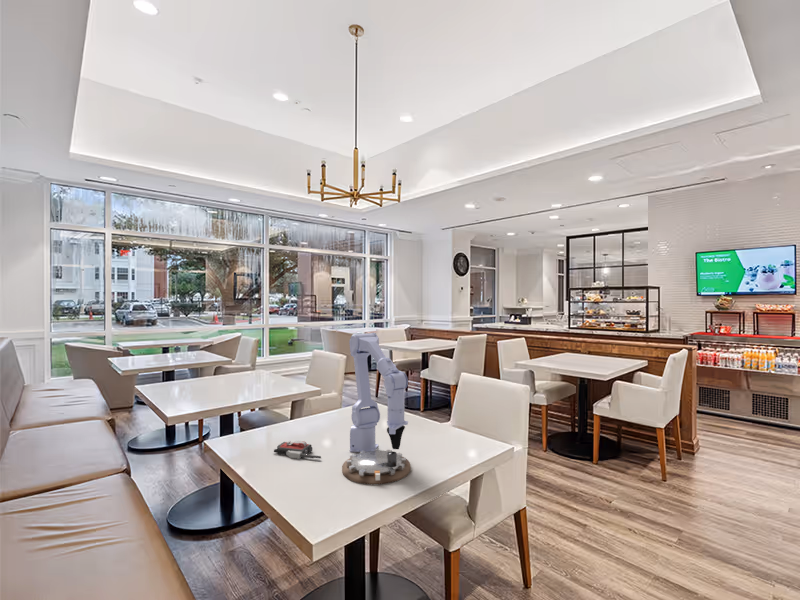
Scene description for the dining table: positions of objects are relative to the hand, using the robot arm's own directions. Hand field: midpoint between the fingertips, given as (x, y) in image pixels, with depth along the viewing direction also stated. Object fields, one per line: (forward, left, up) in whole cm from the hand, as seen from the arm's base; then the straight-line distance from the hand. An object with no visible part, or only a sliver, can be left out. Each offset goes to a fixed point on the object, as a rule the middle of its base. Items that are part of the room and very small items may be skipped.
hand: (396, 448), depth 135 cm
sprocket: (-6, -2, -5) cm, 8 cm away
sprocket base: (-6, -2, -7) cm, 9 cm away
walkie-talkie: (-37, +7, -7) cm, 39 cm away
